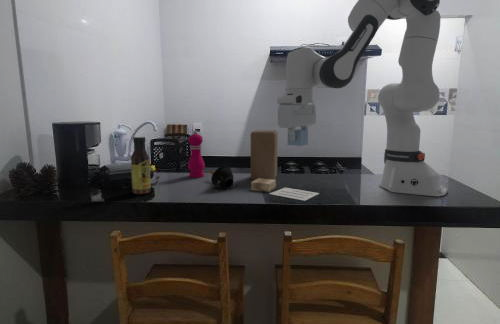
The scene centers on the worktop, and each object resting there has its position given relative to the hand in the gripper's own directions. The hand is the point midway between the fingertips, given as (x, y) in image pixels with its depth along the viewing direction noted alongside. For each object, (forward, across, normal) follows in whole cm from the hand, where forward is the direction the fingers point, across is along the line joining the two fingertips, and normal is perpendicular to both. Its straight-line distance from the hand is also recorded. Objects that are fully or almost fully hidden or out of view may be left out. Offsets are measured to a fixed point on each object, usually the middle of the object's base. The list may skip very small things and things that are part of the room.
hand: (297, 139), depth 114 cm
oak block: (+19, +1, -13) cm, 24 cm away
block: (+19, -15, -24) cm, 34 cm away
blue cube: (+2, 0, 0) cm, 2 cm away
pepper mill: (+19, -1, -50) cm, 53 cm away
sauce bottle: (+19, +30, -46) cm, 58 cm away
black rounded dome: (+19, +5, -31) cm, 37 cm away
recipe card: (+19, 0, -1) cm, 19 cm away
